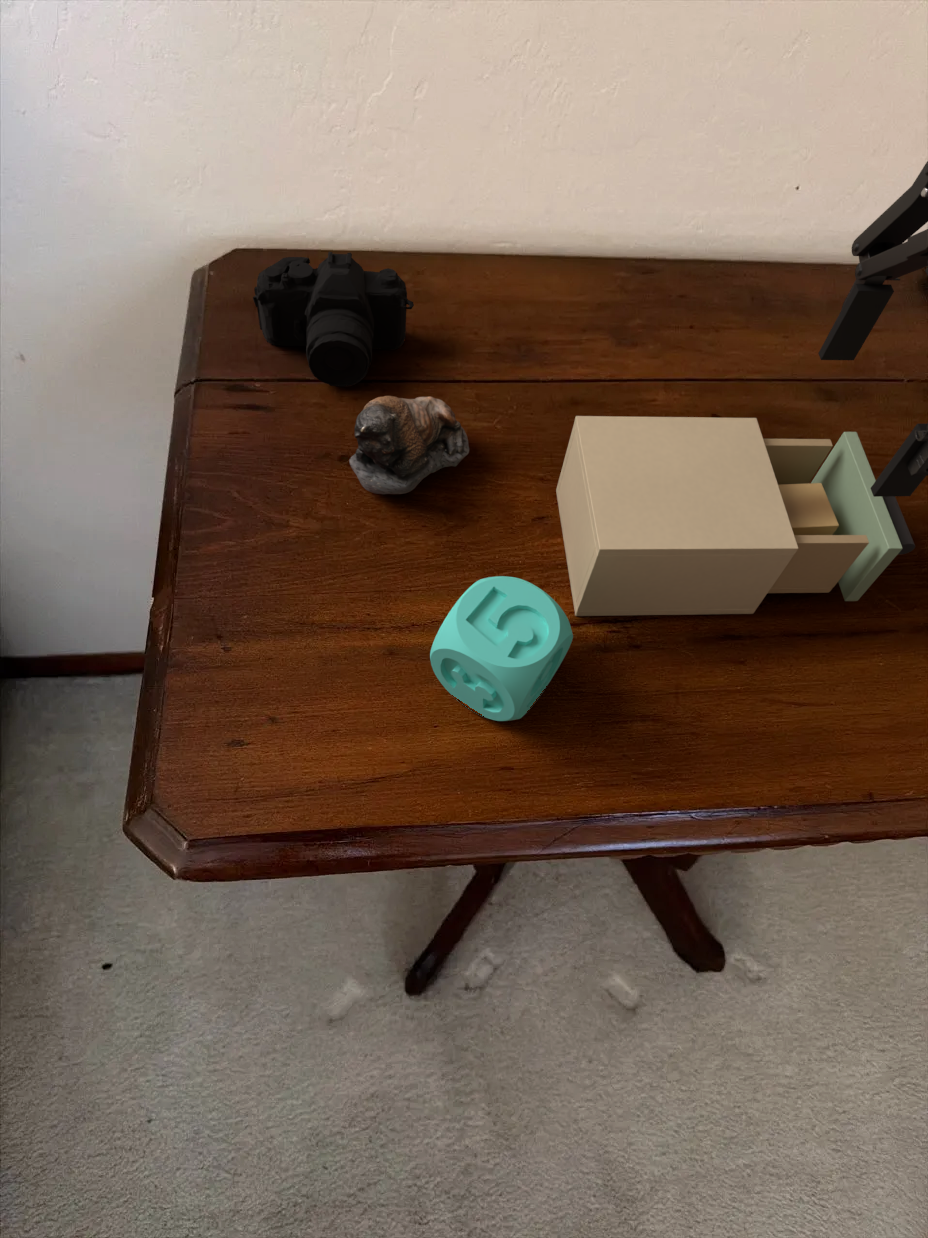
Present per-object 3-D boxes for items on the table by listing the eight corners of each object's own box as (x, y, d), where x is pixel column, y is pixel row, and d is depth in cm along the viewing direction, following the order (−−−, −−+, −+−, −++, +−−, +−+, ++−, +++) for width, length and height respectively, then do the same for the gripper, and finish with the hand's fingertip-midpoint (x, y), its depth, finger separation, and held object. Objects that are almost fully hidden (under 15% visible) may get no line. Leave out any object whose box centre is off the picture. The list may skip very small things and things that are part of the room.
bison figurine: (430, 417, 84) (436, 334, 76) (483, 459, 82) (496, 378, 74) (336, 483, 79) (331, 401, 71) (390, 529, 77) (392, 451, 68)
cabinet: (719, 490, 83) (756, 417, 74) (753, 614, 76) (798, 548, 67) (555, 490, 81) (575, 415, 73) (575, 616, 74) (599, 549, 66)
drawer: (858, 489, 83) (900, 431, 76) (901, 600, 77) (950, 548, 70) (668, 489, 81) (694, 429, 74) (695, 603, 75) (726, 549, 68)
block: (751, 518, 79) (770, 484, 75) (799, 515, 79) (821, 482, 75) (766, 560, 76) (787, 528, 72) (816, 557, 77) (839, 525, 73)
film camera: (253, 387, 84) (241, 310, 77) (262, 318, 89) (251, 240, 82) (411, 393, 86) (415, 318, 78) (411, 325, 91) (415, 249, 83)
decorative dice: (482, 613, 73) (493, 557, 67) (563, 665, 71) (583, 613, 65) (425, 681, 70) (431, 629, 63) (509, 737, 68) (524, 690, 61)
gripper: (1220, 299, 42) (968, 557, 60) (1016, 27, 54) (860, 308, 72) (1073, 296, 41) (863, 558, 59) (901, 22, 54) (772, 307, 72)
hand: (861, 421), depth 66 cm, fingers open, 13 cm apart
